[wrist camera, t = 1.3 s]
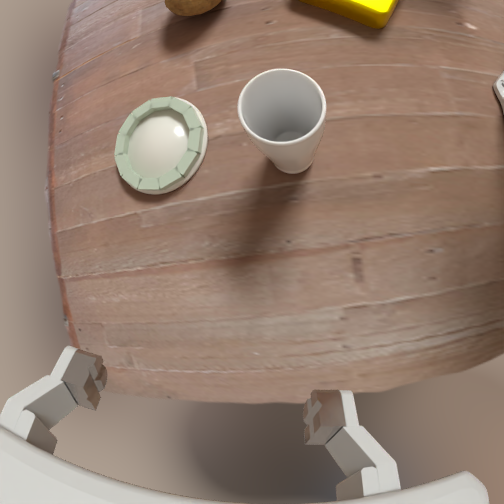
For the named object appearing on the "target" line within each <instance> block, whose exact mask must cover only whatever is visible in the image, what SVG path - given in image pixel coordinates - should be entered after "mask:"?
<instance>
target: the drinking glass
mask: <svg viewBox="0 0 504 504" xmlns="http://www.w3.org/2000/svg"><path fill="white" fill-rule="evenodd" d="M238 116H239V120H240V122H241V124H242V126H243V128H244V130H245V132H246V134H247V135H248V137H249V138H250V140H251V141H252V143H253V144H254V145H255V146H256V147H257V148H258V149H259V150H260V151H261V152H262V153H263V154H264V155H265V156H266V157H267V158H269V159H270V160H271V161H272V162H273V164H274V165H275V166H276V167H277V168H278V169H279V170H281V171H283V172H285V173H289V174H296V173H300V172H303V171H304V170H306V169H307V168H308V167H309V166H310V165H311V164H312V162H313V160H314V156H315V152H316V150H317V148H318V146H319V144H320V141H321V139H322V136H323V133H324V129H325V124H326V100H325V97H324V94H323V92H322V90H321V88H320V87H319V85H318V84H317V83H316V82H315V81H314V80H313V79H312V78H310V77H309V76H307V75H306V74H304V73H301V72H299V71H296V70H291V69H273V70H269V71H266V72H263V73H261V74H259V75H257V76H256V77H254V78H253V79H252V80H250V81H249V82H248V83H247V84H246V86H245V87H244V88H243V90H242V92H241V94H240V97H239V100H238Z"/></svg>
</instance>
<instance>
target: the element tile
mask: <svg viewBox="0 0 504 504" xmlns="http://www.w3.org/2000/svg"><path fill="white" fill-rule="evenodd" d="M299 1H301V2H304V3H307V4H310V5H313V6H316V7H319V8H322V9H325V10H328V11H331V12H334V13H337V14H339V15H342V16H344V17H347V18H350V19H352V20H355V21H357V22H359V23H362V24H364V25H366V26H369V27H372V28H376V29H379V28H383V27H385V26H386V24H387V22H388V21H389V19H390V17H391V15H392V13H393V11H394V9H395V7H396V5H397V3H398V1H399V0H299Z"/></svg>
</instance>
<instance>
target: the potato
mask: <svg viewBox="0 0 504 504" xmlns="http://www.w3.org/2000/svg"><path fill="white" fill-rule="evenodd" d="M221 1H222V0H165V5H166V7H167V8H168V9H169V10H170V11H172V12H173V13H175V14H177V15H181V16H192V15H198V14H202V13H204V12H206V11H209V10H211V9H212V8H214V7H215V6H216V5H218V4H219V3H220V2H221Z"/></svg>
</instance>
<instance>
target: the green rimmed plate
mask: <svg viewBox="0 0 504 504" xmlns="http://www.w3.org/2000/svg"><path fill="white" fill-rule="evenodd" d="M132 114H133V115H132ZM132 114H131V113H130V115H129V116H128V118H127V119H126V121H125V122H124V124H123V126H122V127H121V129H120V130H119V133H120V134H118V135H117V141H116V147H115V154H114V155H115V160H116V164H117V167H118V170H119V173H120V175H121V176H122V178H123V179H124V180H125V181H126V182H127V183H128V184H129V185H130V186H131V187H132V188H134V189H136V190H137V191H140V192H143V193H146V194H154V195H155V194H164V193H168V192H171V191H173V190H175V189H177V188H179V187H181V186H182V185H184V184H185V183H186V182H187V181H188V180H189V179H190V178H191V177H192V176H193V175H194V174H195V173H196V171H197V170H198V168H199V167H200V165H201V163H202V161H203V159H204V157H205V154H206V150H207V145H208V129H207V125H206V122H205V119H204V117H203V116H202V114H201V113H200V111H199V110H198V109H197V108H196V107H195V106H194V105H193V104H191V103H189V102H188V101H186V100H183V99H180V98H175V97H172V96H171V97H162V98H155V99H151V100H148V101H147V102H145V103H144V104H143V105H141V106H140V107H138V108H137V109H135V110H134V111H132Z"/></svg>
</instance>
